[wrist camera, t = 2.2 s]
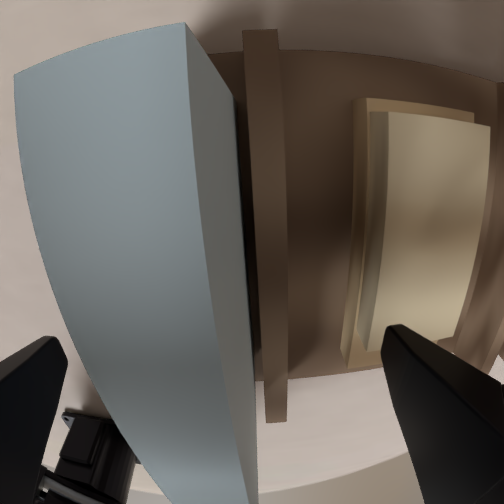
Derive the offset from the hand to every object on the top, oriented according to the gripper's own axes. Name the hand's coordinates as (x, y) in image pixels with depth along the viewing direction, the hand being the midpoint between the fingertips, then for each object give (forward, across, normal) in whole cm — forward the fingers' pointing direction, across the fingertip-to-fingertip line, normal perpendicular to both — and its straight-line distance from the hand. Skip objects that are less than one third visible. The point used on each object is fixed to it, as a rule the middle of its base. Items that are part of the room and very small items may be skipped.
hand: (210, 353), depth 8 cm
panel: (+6, 0, 0) cm, 6 cm away
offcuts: (+6, -8, 0) cm, 10 cm away
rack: (+7, -8, 0) cm, 11 cm away
